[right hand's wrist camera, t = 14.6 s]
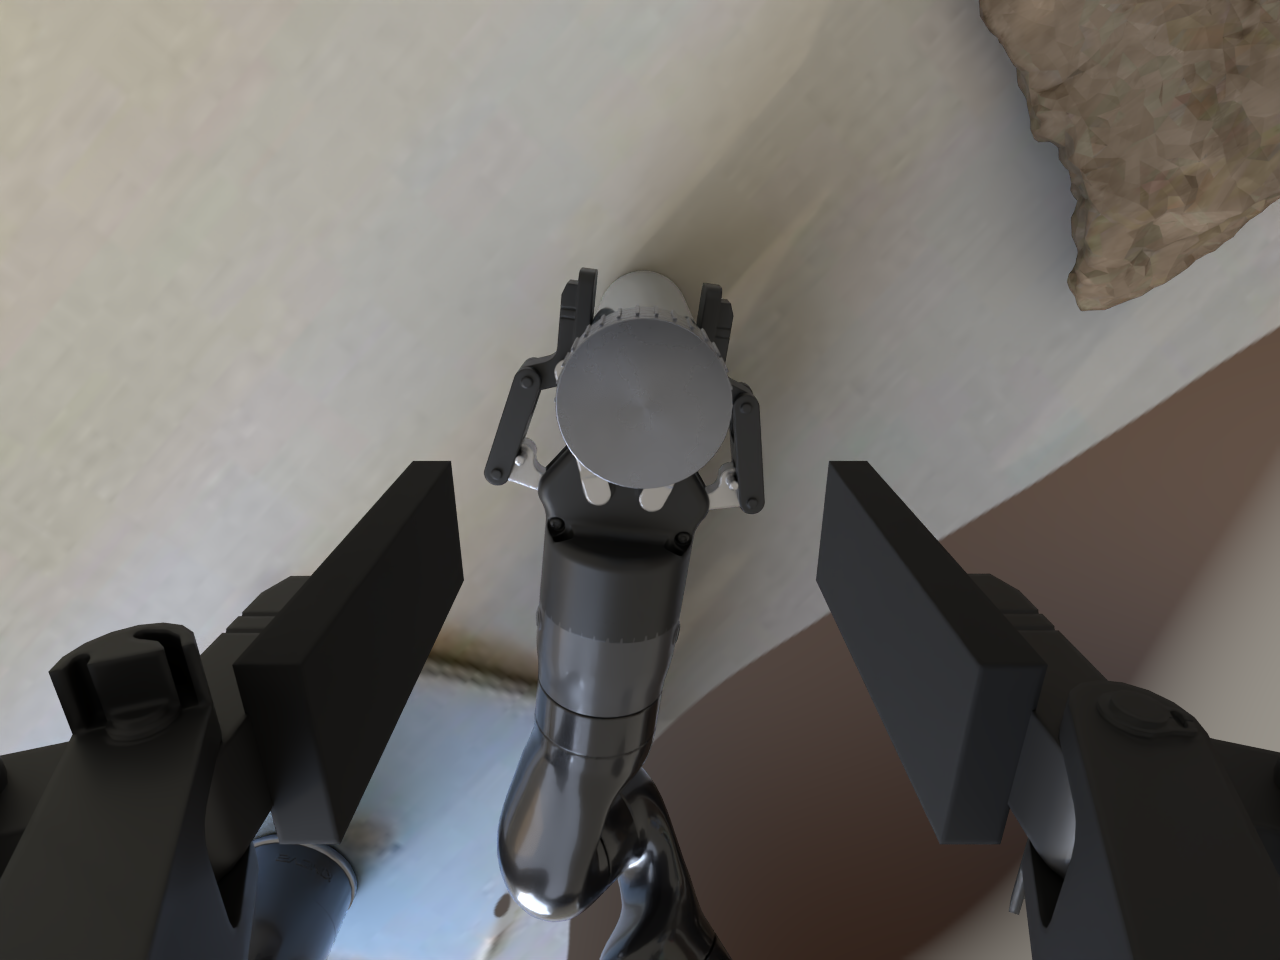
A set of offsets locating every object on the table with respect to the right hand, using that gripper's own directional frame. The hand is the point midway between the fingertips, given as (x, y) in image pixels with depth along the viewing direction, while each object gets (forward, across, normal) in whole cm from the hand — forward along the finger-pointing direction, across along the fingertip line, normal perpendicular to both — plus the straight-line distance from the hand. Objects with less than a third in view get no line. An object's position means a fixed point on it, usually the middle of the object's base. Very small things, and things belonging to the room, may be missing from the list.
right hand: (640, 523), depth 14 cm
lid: (+8, 0, 0) cm, 8 cm away
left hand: (+19, 0, -3) cm, 19 cm away
